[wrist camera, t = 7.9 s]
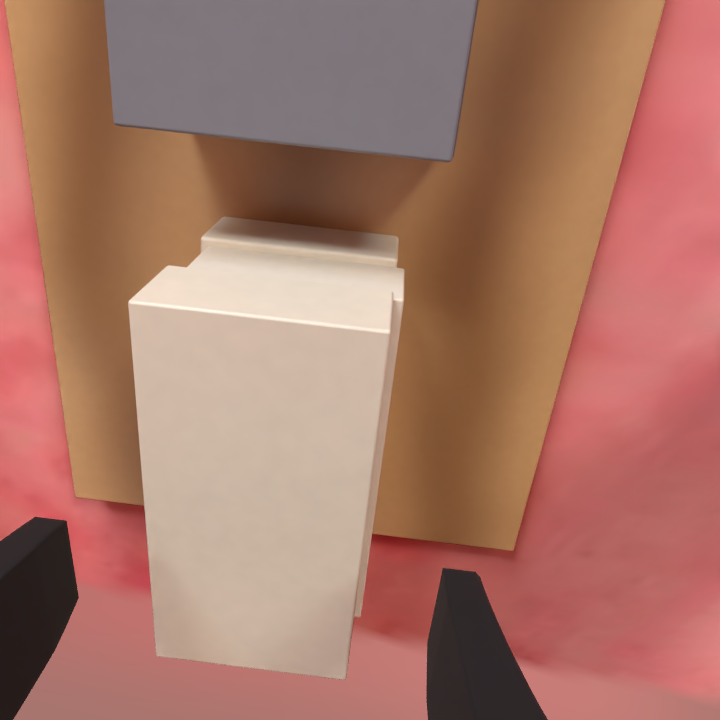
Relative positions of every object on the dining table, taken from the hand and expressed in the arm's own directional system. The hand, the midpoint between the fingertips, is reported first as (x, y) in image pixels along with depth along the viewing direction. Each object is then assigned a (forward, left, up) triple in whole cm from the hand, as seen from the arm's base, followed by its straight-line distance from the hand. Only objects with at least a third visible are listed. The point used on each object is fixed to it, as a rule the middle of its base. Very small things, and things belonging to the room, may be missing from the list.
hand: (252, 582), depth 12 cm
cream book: (0, 0, -4) cm, 4 cm away
